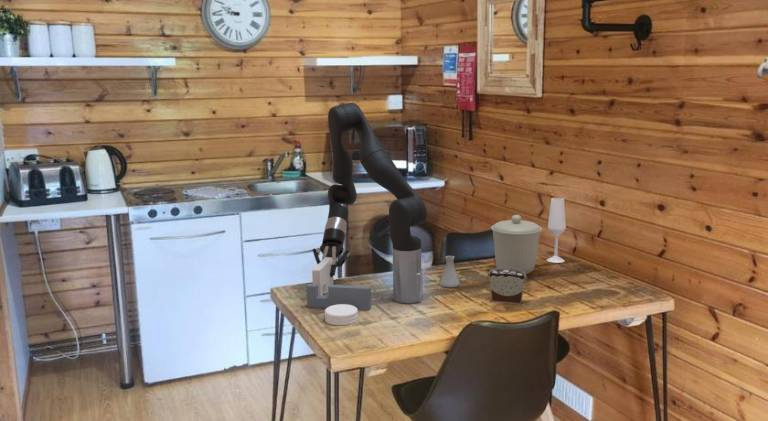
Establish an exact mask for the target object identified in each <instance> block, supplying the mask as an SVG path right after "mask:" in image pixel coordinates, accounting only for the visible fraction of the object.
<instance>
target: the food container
mask: <svg viewBox="0 0 768 421" xmlns="http://www.w3.org/2000/svg"><path fill="white" fill-rule="evenodd" d="M487 278H489V286H490V296H491V302H492V303H503V304H513V305H514V304H515V305H522V302H523V293H524V285H525V281H527V274H525V272H524V271H522V270H520V269H516V268H497V267H496V268H491V269H489V271H488V273H487Z"/></svg>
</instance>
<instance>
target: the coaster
mask: <svg viewBox="0 0 768 421" xmlns="http://www.w3.org/2000/svg"><path fill="white" fill-rule="evenodd" d="M358 312H359V310H358V309H357V308H356V307H355V306H352V305H347V304H338V305H333V306H330V307H328V308H324V321H325V322H326V323H327V324H329V325H332V326H348V325H352V324H355V323H357V321H358V320H359V313H358Z"/></svg>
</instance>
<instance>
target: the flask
mask: <svg viewBox="0 0 768 421" xmlns="http://www.w3.org/2000/svg"><path fill="white" fill-rule="evenodd" d="M454 261H455V256H454V255H446V256H445V267H444V270H443V272H442V276H441V279H440V281H439V287H444V288H457V287H459V286H460V285H461V284H460V279H459V277H458V274H457V272H456V268H455V263H454Z"/></svg>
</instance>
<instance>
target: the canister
mask: <svg viewBox="0 0 768 421" xmlns="http://www.w3.org/2000/svg"><path fill="white" fill-rule="evenodd" d="M490 230H491V231H492V238H493V239H492V240H493V248H494V256H495V264H496V265H495V266H496V268H516V269H520V270H522V271H524V272H525V274H526V275H528V274H530V273H532V272H533V271H534V269H535V267H536V263H537V256H538V249H539V242H540V235H541V232H542V231H543V228H542V226H541V225H539V224H537V223H536V222H532V221H529V220H522V216H521V215H519V214H514V215H512V216H511V219H508V220H501V221H500V220H499V221H497V222H496V223H494V224H492V225H491V226H490Z"/></svg>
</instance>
